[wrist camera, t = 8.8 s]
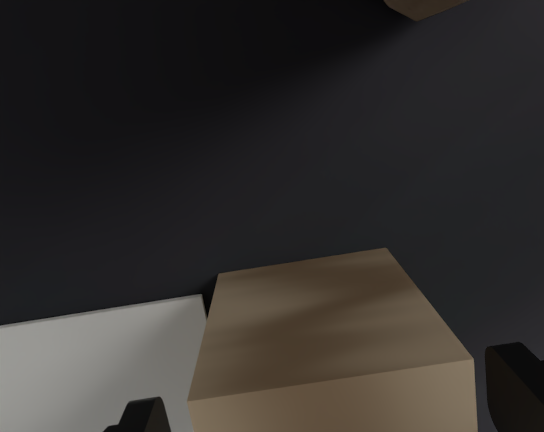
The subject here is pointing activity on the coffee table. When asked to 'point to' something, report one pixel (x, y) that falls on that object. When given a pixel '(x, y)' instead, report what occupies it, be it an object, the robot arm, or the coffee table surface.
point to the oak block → (329, 352)
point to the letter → (99, 366)
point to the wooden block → (422, 7)
